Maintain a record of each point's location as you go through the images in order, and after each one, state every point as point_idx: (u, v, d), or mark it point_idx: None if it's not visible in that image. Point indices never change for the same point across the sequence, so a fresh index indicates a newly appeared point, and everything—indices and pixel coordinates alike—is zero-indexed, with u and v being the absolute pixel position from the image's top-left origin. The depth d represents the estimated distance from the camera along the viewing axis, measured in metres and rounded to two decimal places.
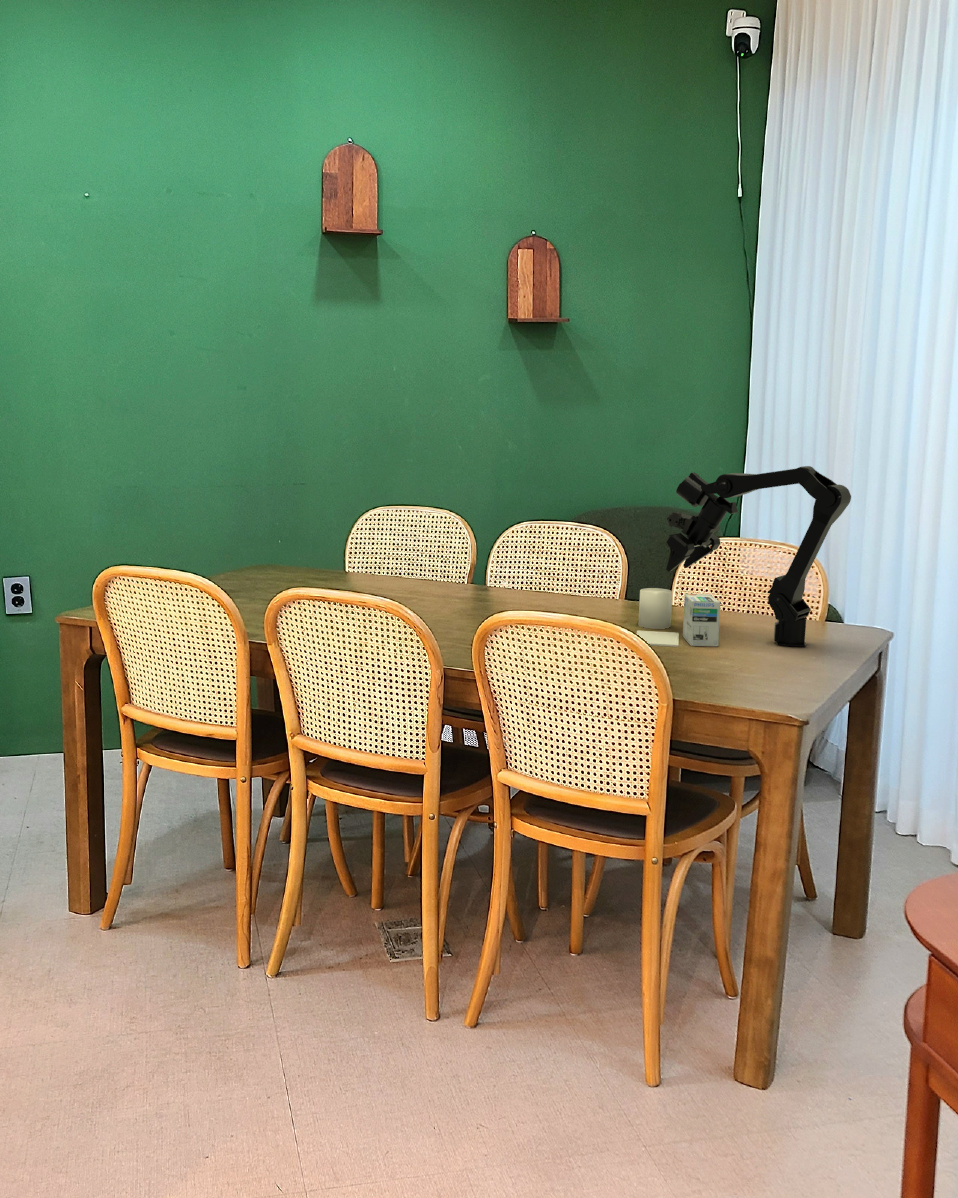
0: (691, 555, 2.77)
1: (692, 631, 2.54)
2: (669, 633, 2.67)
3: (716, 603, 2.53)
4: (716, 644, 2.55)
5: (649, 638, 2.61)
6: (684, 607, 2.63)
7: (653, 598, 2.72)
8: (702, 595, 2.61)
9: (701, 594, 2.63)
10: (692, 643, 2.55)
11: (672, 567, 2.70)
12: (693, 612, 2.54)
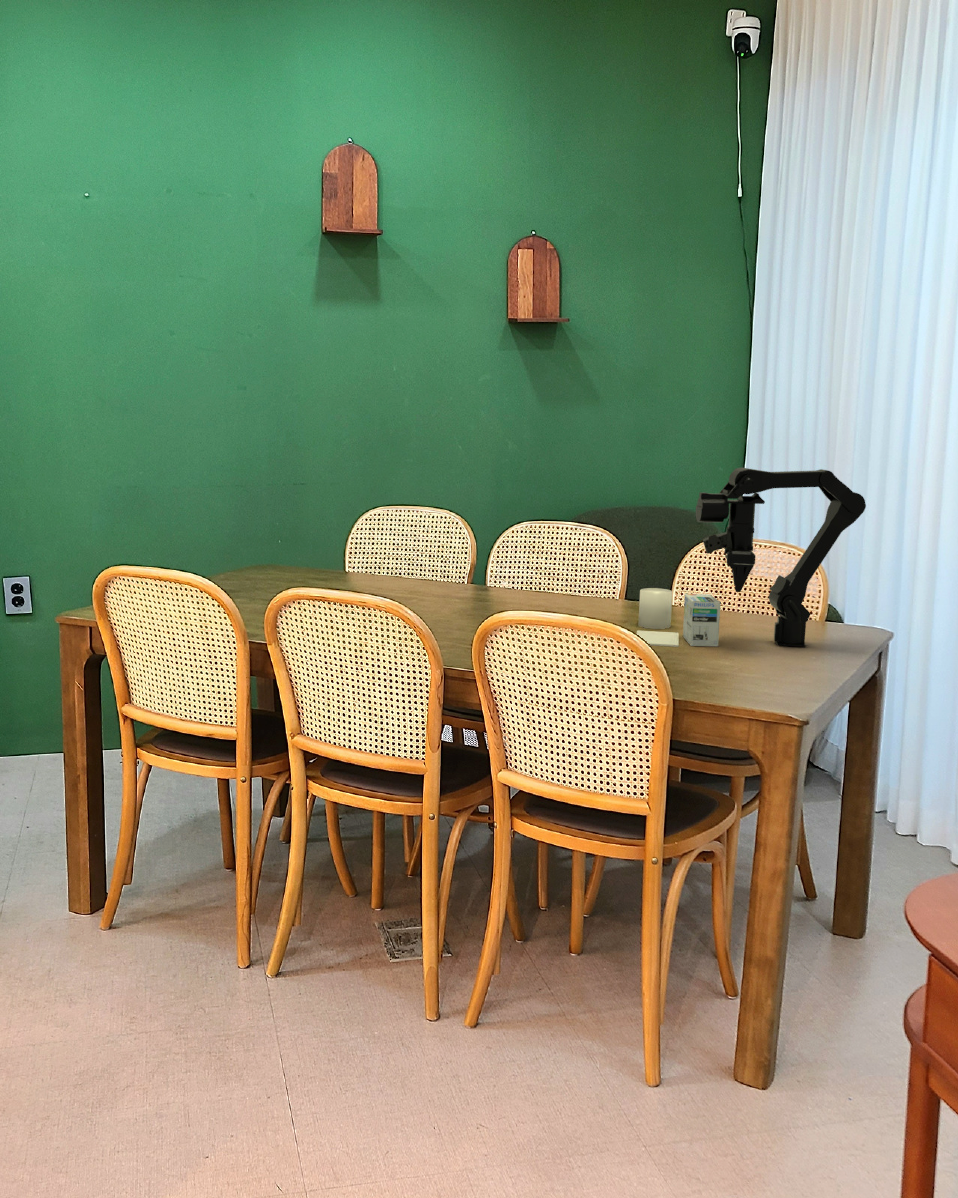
0: None
1: (692, 631, 2.54)
2: (669, 633, 2.67)
3: (716, 603, 2.53)
4: (716, 644, 2.55)
5: (649, 638, 2.61)
6: (684, 607, 2.63)
7: (653, 598, 2.72)
8: (702, 595, 2.61)
9: (701, 594, 2.63)
10: (692, 643, 2.55)
11: (742, 585, 2.52)
12: (693, 612, 2.54)
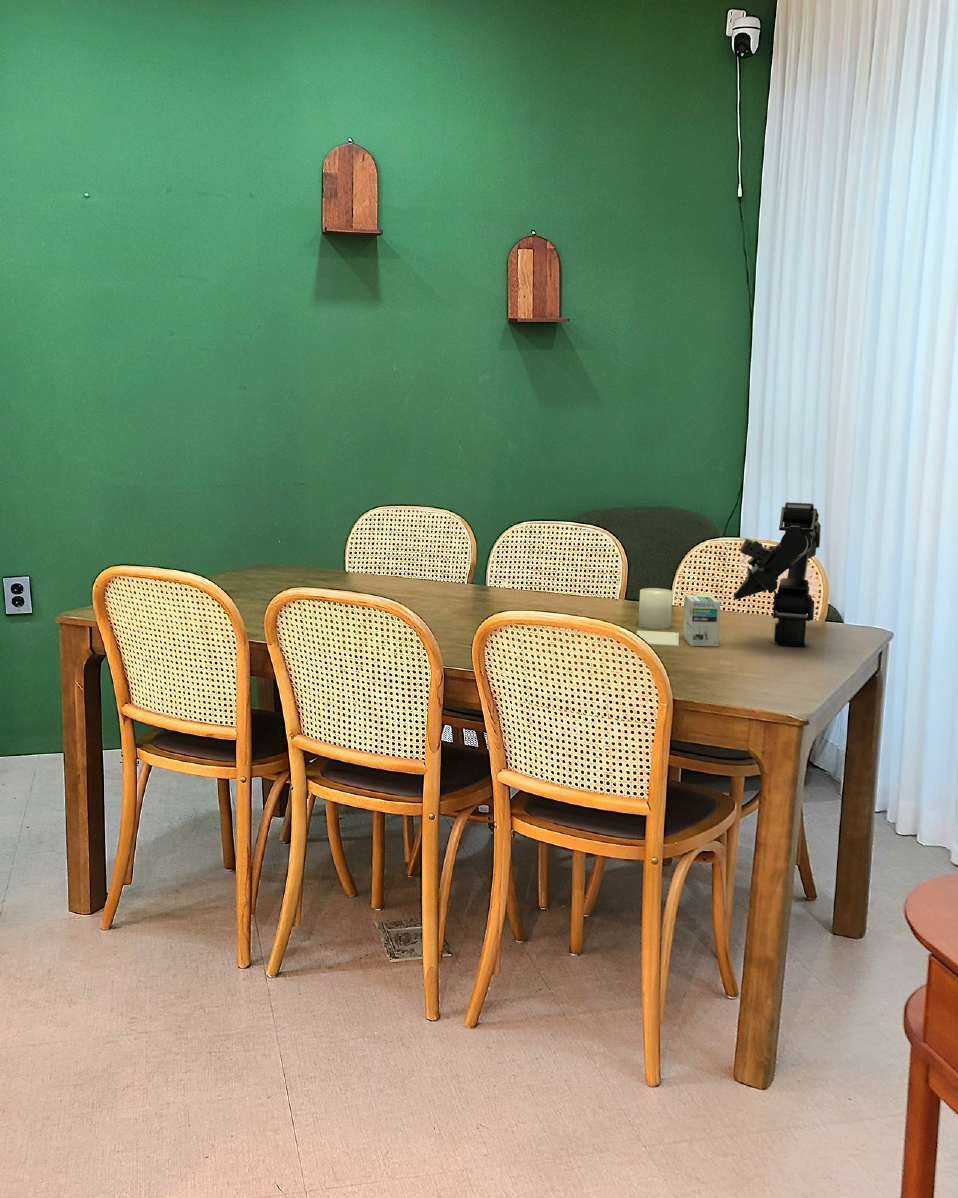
0: None
1: (692, 631, 2.54)
2: (669, 633, 2.67)
3: (716, 603, 2.53)
4: (716, 644, 2.55)
5: (649, 638, 2.61)
6: (684, 607, 2.63)
7: (653, 598, 2.72)
8: (702, 595, 2.61)
9: (701, 594, 2.63)
10: (692, 643, 2.55)
11: (742, 596, 2.56)
12: (693, 612, 2.54)
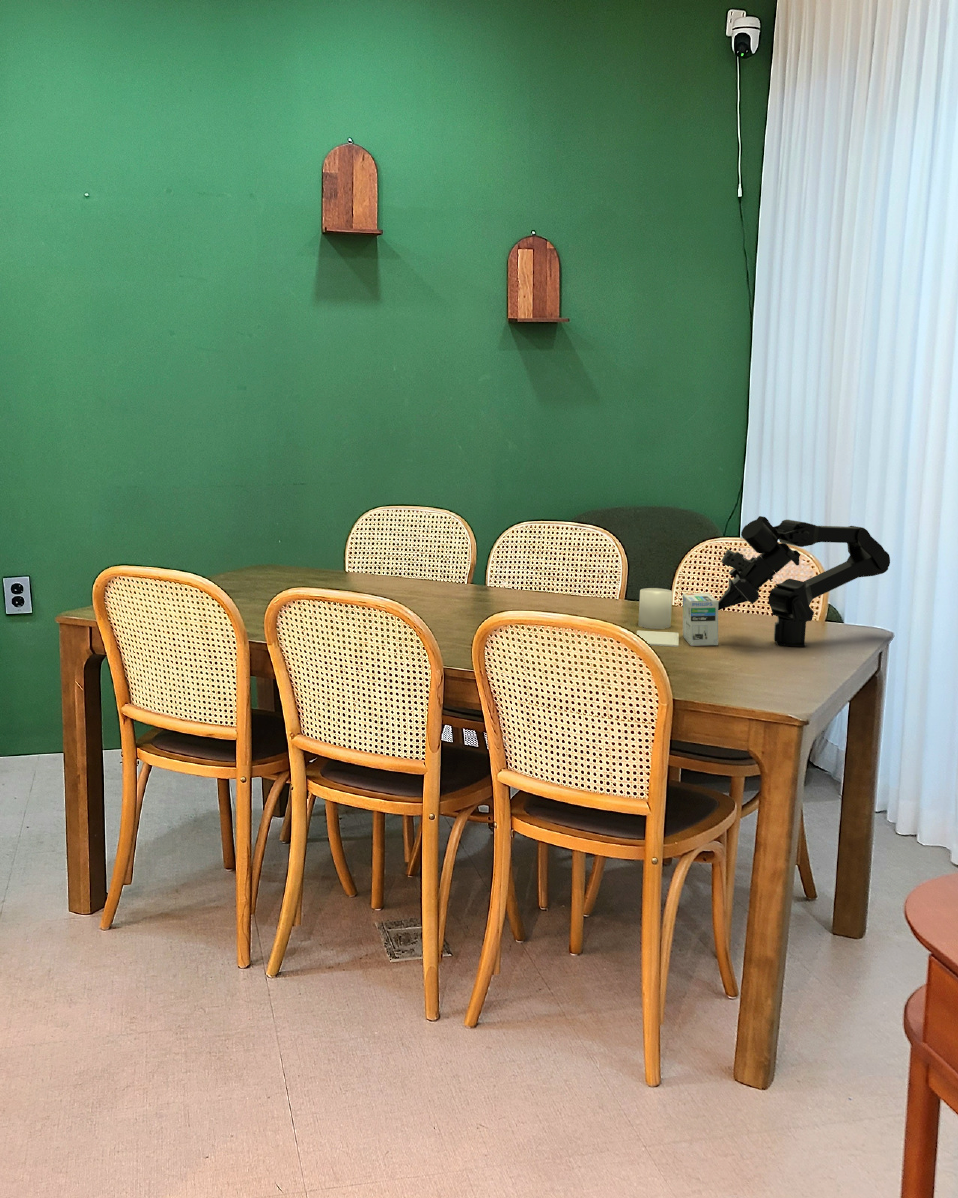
0: None
1: (691, 631, 2.54)
2: (669, 633, 2.67)
3: (714, 602, 2.53)
4: (716, 643, 2.55)
5: (649, 638, 2.61)
6: (683, 607, 2.63)
7: (653, 598, 2.72)
8: (700, 594, 2.61)
9: (699, 593, 2.63)
10: (692, 643, 2.55)
11: (724, 606, 2.57)
12: (691, 612, 2.54)
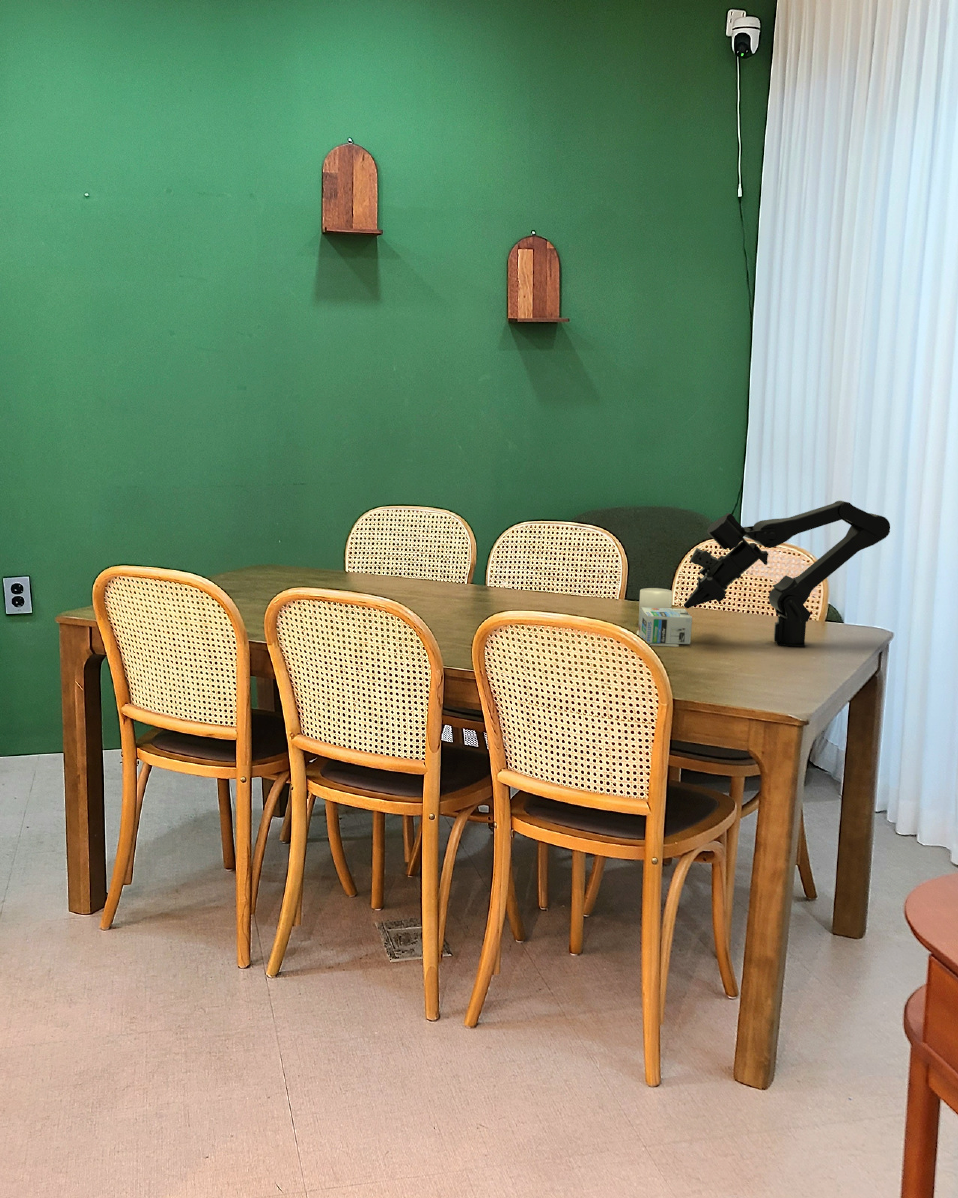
0: None
1: (675, 642, 2.55)
2: None
3: (648, 619, 2.54)
4: (690, 619, 2.54)
5: None
6: None
7: (653, 598, 2.72)
8: (640, 619, 2.62)
9: (640, 617, 2.64)
10: (687, 642, 2.55)
11: (692, 605, 2.58)
12: (656, 642, 2.55)
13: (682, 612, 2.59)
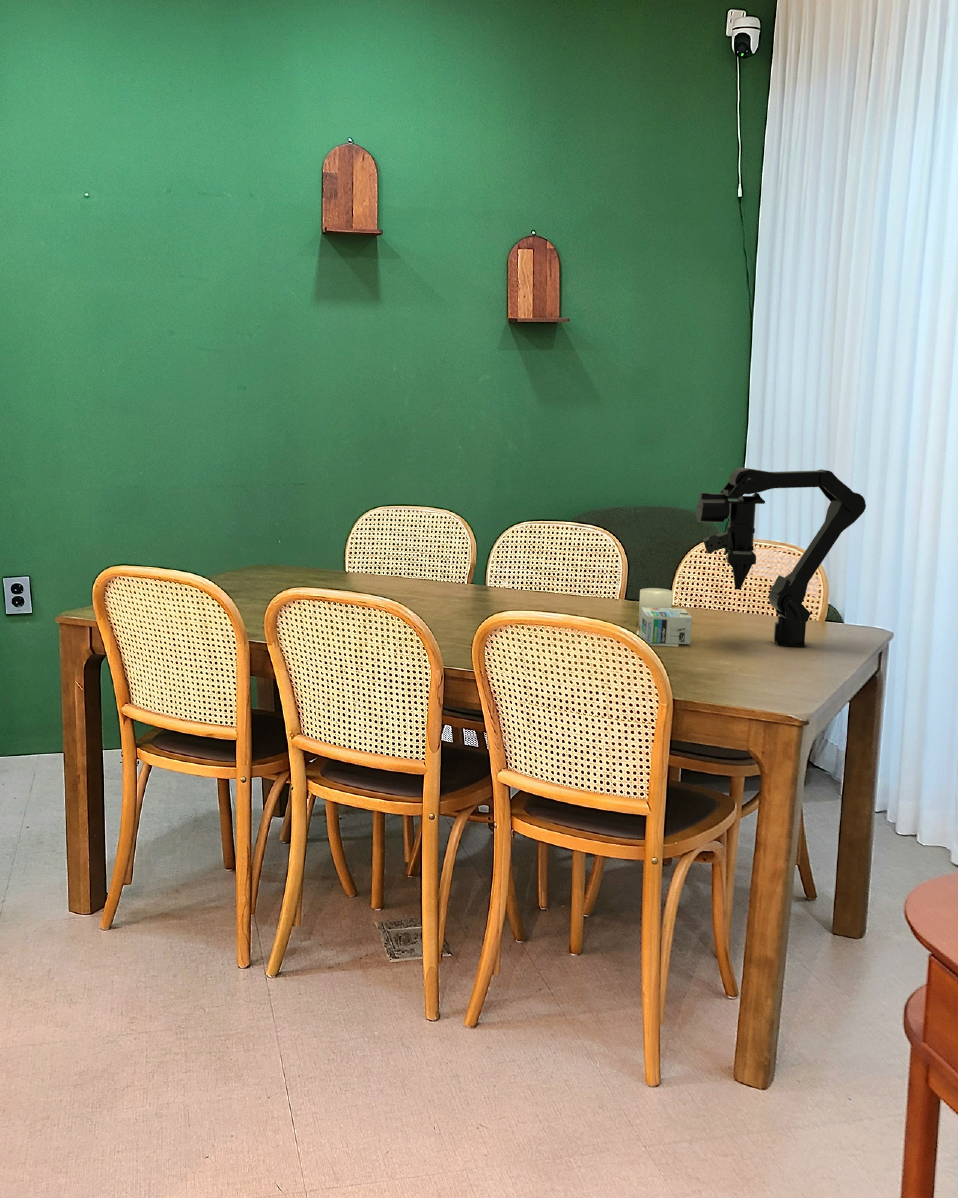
0: None
1: (675, 642, 2.55)
2: None
3: (648, 620, 2.54)
4: (690, 619, 2.54)
5: None
6: None
7: (653, 598, 2.72)
8: (640, 619, 2.62)
9: (640, 617, 2.64)
10: (687, 642, 2.55)
11: (741, 582, 2.55)
12: (656, 642, 2.55)
13: (682, 612, 2.59)
